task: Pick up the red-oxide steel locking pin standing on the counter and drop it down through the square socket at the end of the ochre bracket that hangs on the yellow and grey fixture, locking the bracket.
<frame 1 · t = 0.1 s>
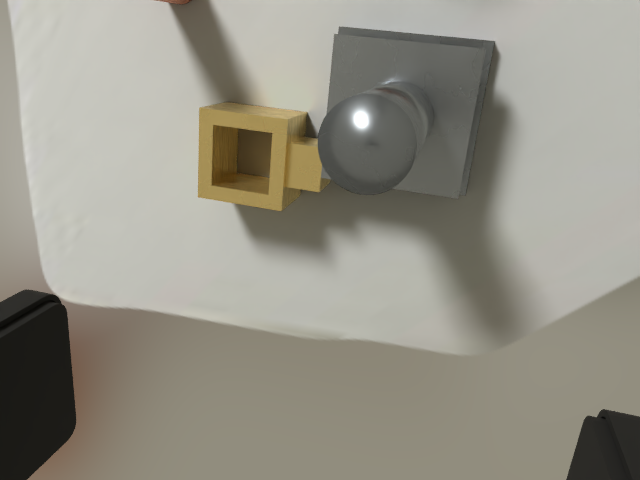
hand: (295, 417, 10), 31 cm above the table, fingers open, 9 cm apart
yellow and grey fixture: (404, 111, 38), on the table
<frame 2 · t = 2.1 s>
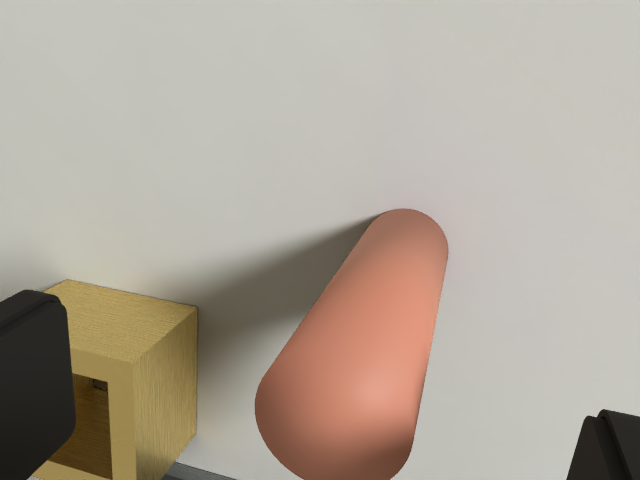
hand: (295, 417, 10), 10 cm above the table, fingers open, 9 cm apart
pin: (404, 250, 19), on the table
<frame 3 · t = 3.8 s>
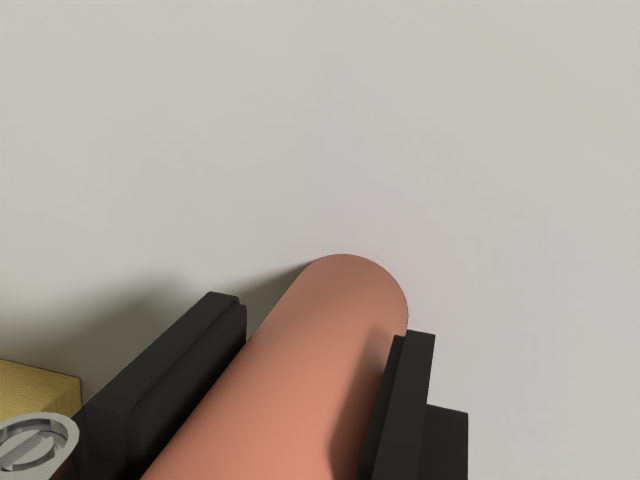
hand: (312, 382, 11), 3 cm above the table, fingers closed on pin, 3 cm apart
pin: (347, 311, 14), on the table, touching gripper
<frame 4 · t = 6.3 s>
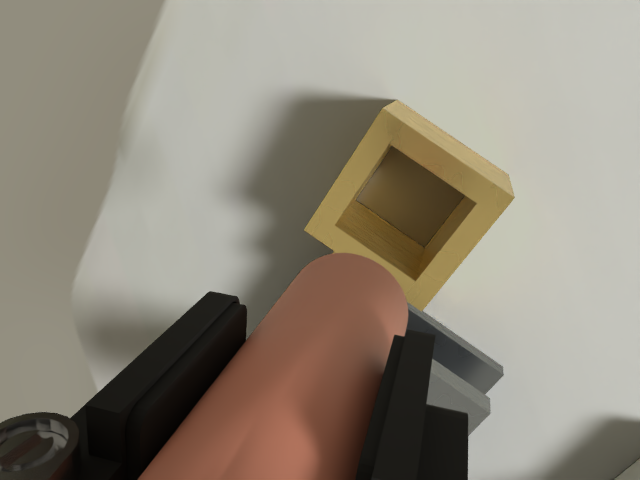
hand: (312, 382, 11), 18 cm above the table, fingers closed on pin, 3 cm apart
pin: (347, 310, 14), point 14 cm above the table, touching gripper
yellow and grey fixture: (369, 375, 31), on the table
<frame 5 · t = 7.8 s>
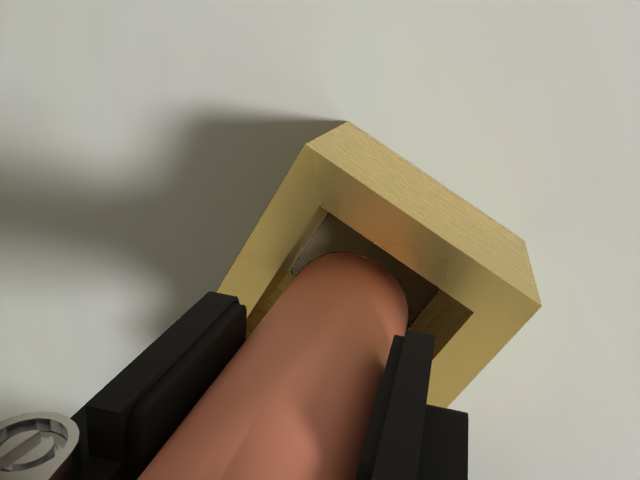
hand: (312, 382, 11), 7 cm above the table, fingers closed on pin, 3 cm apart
pin: (347, 309, 14), point 4 cm above the table, touching gripper
when the fingers open (6 cm above the table, at t = 8.9 s): pin drops 3 cm, resting in yellow and grey fixture.
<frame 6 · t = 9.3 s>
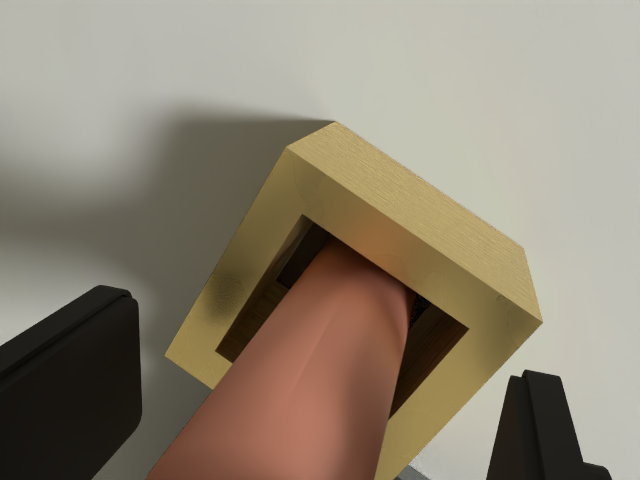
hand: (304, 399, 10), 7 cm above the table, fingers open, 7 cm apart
pin: (370, 268, 16), resting in yellow and grey fixture
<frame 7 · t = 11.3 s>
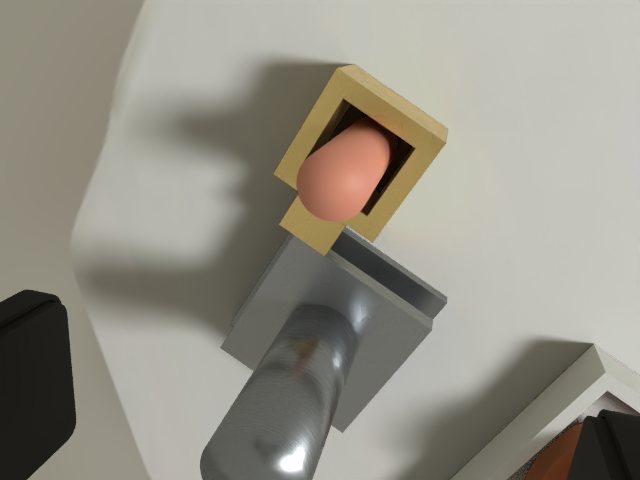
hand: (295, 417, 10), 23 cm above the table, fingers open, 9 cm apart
pin: (370, 143, 31), resting in yellow and grey fixture
yellow and grey fixture: (334, 308, 35), on the table
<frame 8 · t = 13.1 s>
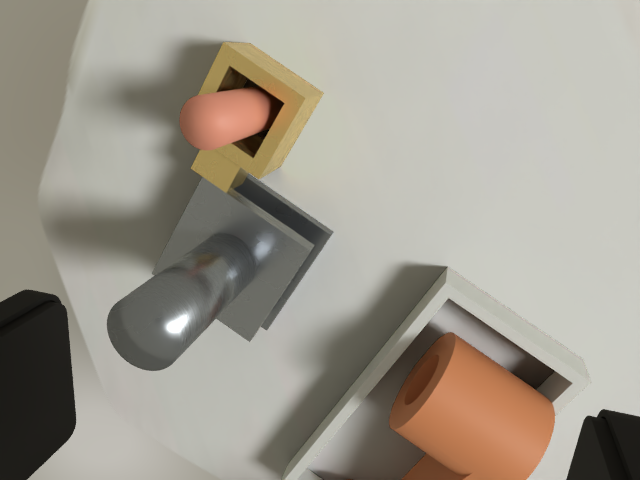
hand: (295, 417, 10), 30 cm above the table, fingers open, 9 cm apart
pin: (266, 106, 39), resting in yellow and grey fixture
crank: (423, 428, 45), resting in pipe rack
pipe rack: (419, 417, 44), on the table
yellow and grey fixture: (247, 244, 43), on the table
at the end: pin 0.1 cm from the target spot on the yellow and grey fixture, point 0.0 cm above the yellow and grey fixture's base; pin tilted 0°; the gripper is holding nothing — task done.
